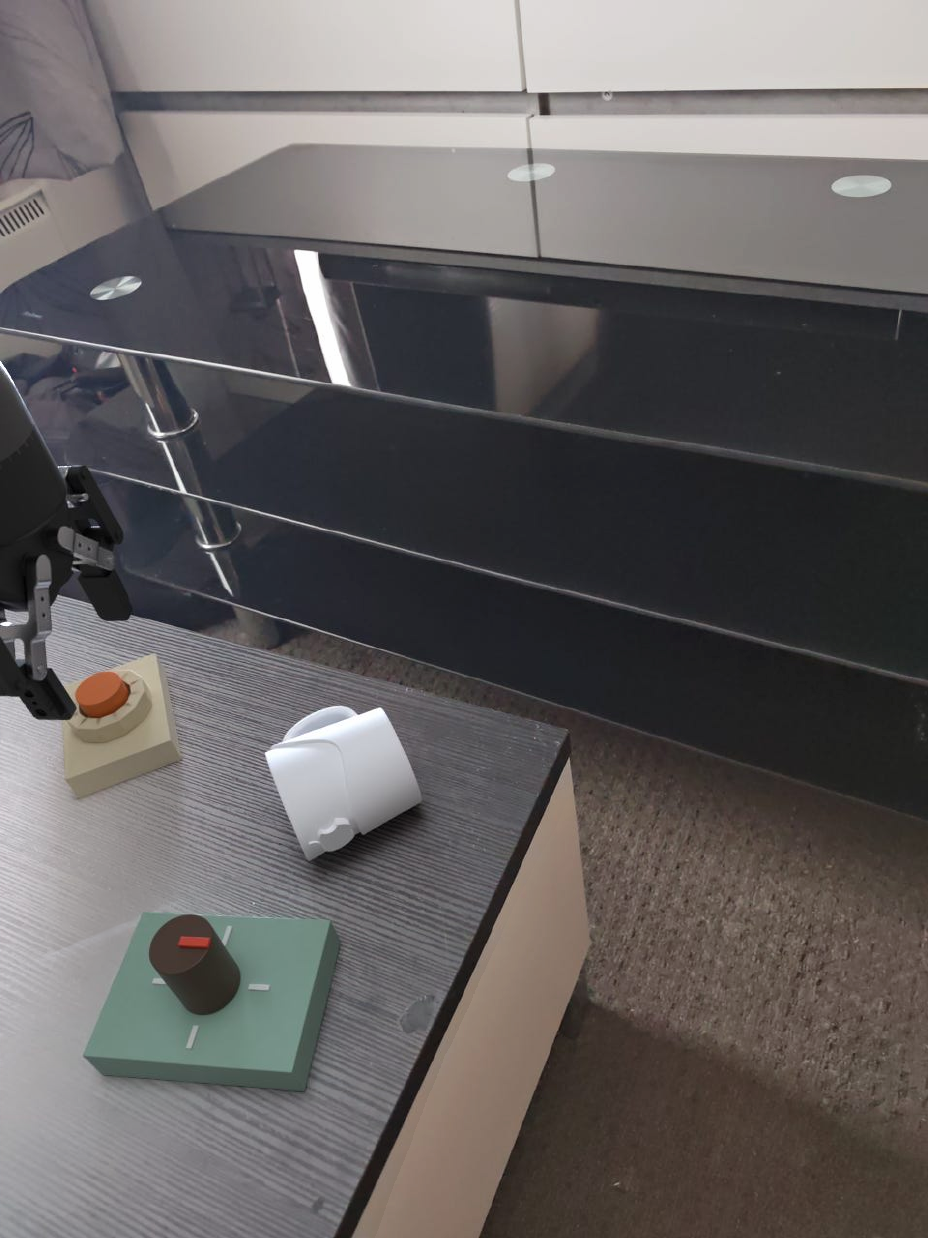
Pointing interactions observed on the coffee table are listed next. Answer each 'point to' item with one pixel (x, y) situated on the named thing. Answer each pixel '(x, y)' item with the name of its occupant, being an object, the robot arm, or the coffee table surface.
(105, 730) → the base
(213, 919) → the dial panel
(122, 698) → the orange push button
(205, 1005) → the dial knob
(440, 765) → the coffee table surface
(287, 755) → the mug
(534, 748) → the coffee table surface
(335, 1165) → the coffee table surface
